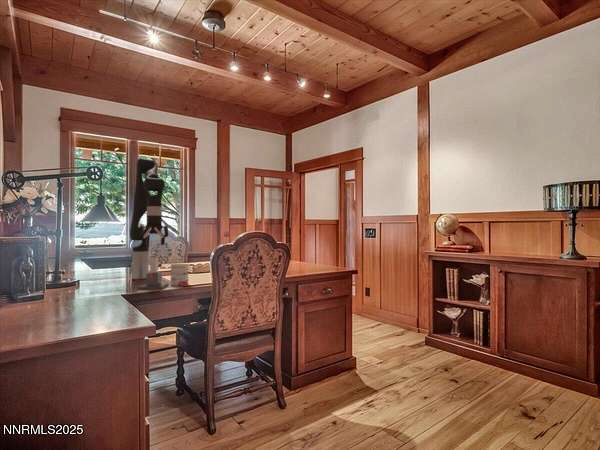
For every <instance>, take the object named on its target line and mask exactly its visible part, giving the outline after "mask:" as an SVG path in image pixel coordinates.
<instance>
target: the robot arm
mask: <svg viewBox="0 0 600 450" xmlns="http://www.w3.org/2000/svg"><path fill="white" fill-rule="evenodd" d="M135 173H136V177H135V190H134V194H133V195H134V196H133V207H132V209H133V210H132V217H131V222H130V223H131V225H130V229H129V238H130V240H131V241H135V242H136V241H137V242H138V241H141V242H140V243H139V244H137V245H135V246H133V247H132V263H130V266H131V267H130V268H131V269H130V270H131V271H130V272H131V274H130V279H131V280H145V279H146V274H147V273H149V272H150V256H149V252H150V250H149V248H150V238H151V237H150V235H153V234H155V235H158V236H159V237H160V245H161V246H164V245H165V244H166V238H167V237H169V226H168V225H163V223H162V222H163V220H162V218H163V217H162V216H163V214H162V213H163V210H162V196H163V193H164V189H165V187H166V182H165V180H164V179H162V178H160V177H159V175H158V163H157V161H156V160H153V159H149V158H148V159H147V158H143V157H141V158H140V157H139V158H138V159H137V162H136V172H135ZM143 175H144V178H143ZM150 192H157V193H156V194H151V193H150ZM145 213H146V225H139V224H140V221H141V219H142V217H143V216H144V215H145ZM162 230H164V232H163V231H162ZM163 233H164V234H163Z"/></svg>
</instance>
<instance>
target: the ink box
mask: <svg viewBox="0 0 600 450" xmlns="http://www.w3.org/2000/svg"><path fill="white" fill-rule="evenodd" d="M188 284H189V263H171V264H170V286H187V285H188Z"/></svg>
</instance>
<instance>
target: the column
mask: <svg viewBox="0 0 600 450" xmlns="http://www.w3.org/2000/svg"><path fill="white" fill-rule="evenodd" d="M158 258H159V255H158V254H157V255H150V256H149V272H150V273H158V272H159V271H158V269H159V268H158V267H159V265H158V264H159V262H158V261H159V259H158Z"/></svg>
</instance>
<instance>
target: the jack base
mask: <svg viewBox="0 0 600 450" xmlns="http://www.w3.org/2000/svg"><path fill="white" fill-rule="evenodd" d="M168 287H169V282H162V271H158V273H150V271H148V273H147V274H146V281H145V283H143V284H141V285H139V286H138V287H137V289H138V291H145V290H147V291H148V290H163V289H165V288H168Z"/></svg>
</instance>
